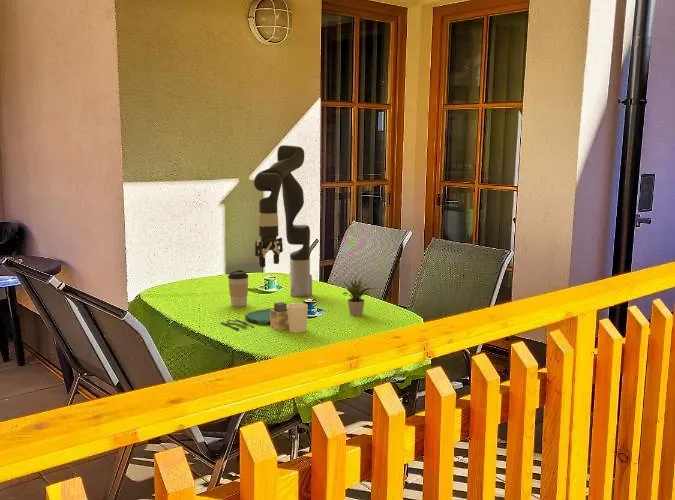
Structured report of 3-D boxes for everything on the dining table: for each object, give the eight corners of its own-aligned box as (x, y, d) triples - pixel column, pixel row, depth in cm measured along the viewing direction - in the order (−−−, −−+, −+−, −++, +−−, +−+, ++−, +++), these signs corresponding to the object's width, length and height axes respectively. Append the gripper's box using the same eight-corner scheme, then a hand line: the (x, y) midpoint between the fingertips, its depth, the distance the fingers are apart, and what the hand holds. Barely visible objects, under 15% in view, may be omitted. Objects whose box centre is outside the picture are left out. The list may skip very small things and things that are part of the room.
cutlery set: (303, 319, 286) (303, 314, 286) (238, 333, 269) (238, 327, 268) (278, 310, 302) (277, 305, 302) (215, 323, 284) (214, 317, 284)
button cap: (282, 308, 276) (282, 302, 276) (286, 310, 273) (286, 303, 273) (274, 309, 274) (274, 303, 274) (278, 311, 271) (278, 305, 271)
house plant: (346, 321, 283) (346, 281, 280) (331, 313, 295) (331, 275, 292) (377, 316, 289) (377, 278, 287) (360, 309, 301) (360, 272, 299)
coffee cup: (245, 307, 306) (244, 273, 304) (225, 306, 308) (224, 273, 306) (251, 302, 315) (251, 270, 313) (232, 301, 317) (231, 269, 315)
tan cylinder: (287, 328, 274) (287, 303, 272) (307, 327, 274) (307, 302, 273) (287, 333, 266) (287, 308, 264) (308, 333, 266) (308, 307, 265)
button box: (283, 324, 279) (283, 307, 278) (291, 327, 274) (291, 310, 273) (270, 326, 276) (270, 309, 275) (277, 330, 271) (277, 312, 270)
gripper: (272, 222, 281) (273, 262, 284) (249, 225, 270) (250, 267, 272) (287, 223, 277) (288, 263, 280) (264, 226, 265) (265, 268, 268)
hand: (269, 265), depth 276 cm, fingers open, 8 cm apart
